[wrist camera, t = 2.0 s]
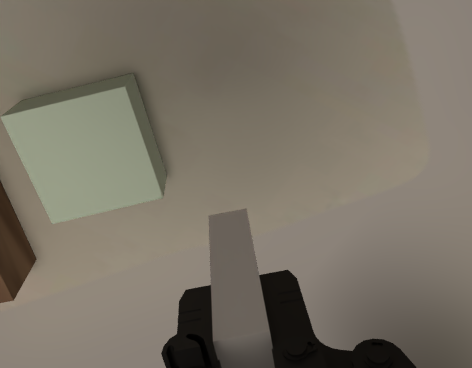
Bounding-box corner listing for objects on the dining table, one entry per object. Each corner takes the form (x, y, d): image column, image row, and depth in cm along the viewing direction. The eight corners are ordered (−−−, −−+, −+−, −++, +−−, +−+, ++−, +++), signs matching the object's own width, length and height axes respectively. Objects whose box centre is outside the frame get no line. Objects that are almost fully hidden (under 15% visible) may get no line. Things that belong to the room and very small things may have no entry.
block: (133, 72, 31) (124, 86, 27) (166, 173, 34) (163, 198, 31) (23, 99, 31) (0, 116, 28) (67, 197, 35) (52, 224, 31)
